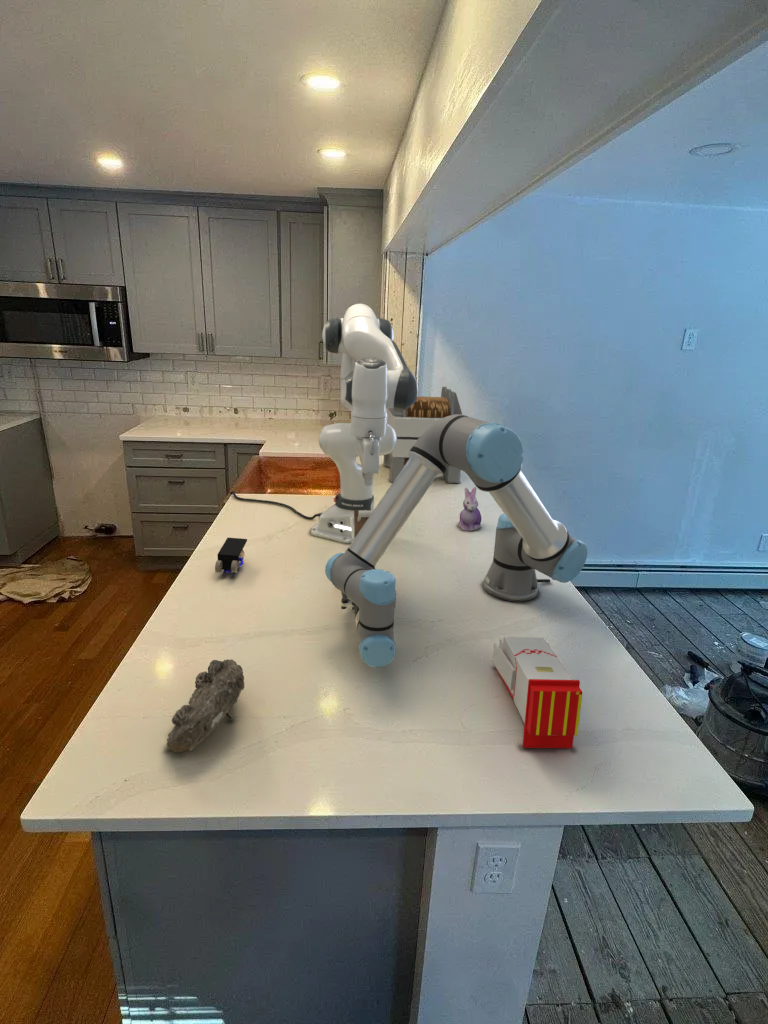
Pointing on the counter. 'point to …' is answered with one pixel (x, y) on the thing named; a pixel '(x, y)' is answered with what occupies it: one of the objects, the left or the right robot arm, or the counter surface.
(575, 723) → the toy
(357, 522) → the door
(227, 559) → the figurine character
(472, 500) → the figurine
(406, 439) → the transformer
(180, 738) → the fossil
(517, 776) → the counter surface
